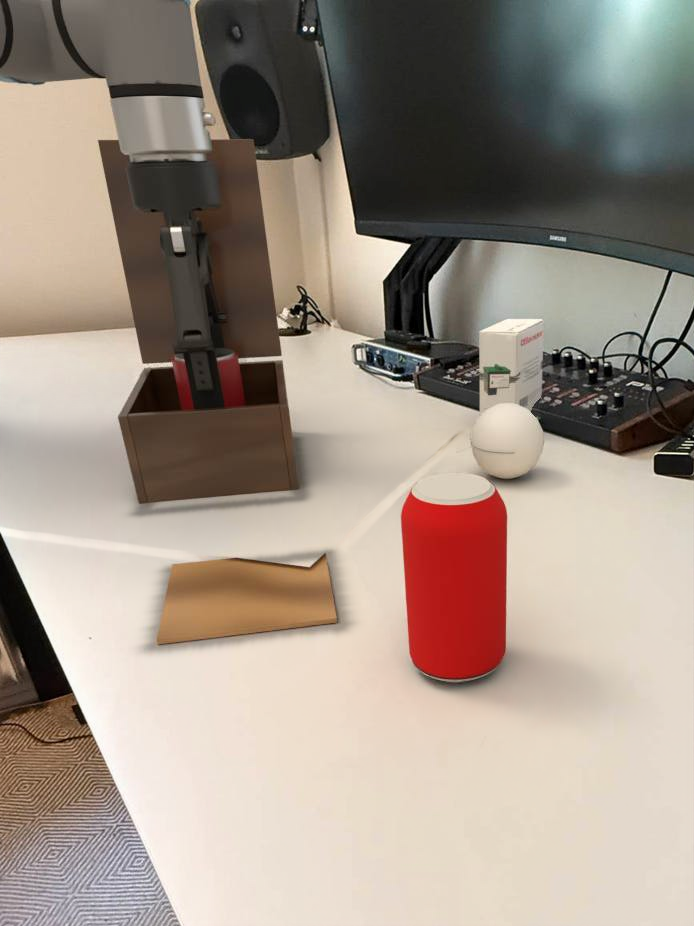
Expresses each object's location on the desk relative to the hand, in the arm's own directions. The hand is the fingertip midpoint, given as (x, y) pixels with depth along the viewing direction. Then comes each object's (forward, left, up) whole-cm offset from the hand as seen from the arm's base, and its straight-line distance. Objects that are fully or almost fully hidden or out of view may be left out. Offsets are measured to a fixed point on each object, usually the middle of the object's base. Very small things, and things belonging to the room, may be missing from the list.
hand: (216, 406), depth 80 cm
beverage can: (+35, -29, -7) cm, 46 cm away
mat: (+17, -24, -7) cm, 30 cm away
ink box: (+25, +23, -7) cm, 34 cm away
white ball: (+28, +5, -7) cm, 29 cm away
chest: (0, 0, -7) cm, 7 cm away
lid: (-6, +9, +13) cm, 17 cm away
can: (0, 0, -6) cm, 6 cm away
